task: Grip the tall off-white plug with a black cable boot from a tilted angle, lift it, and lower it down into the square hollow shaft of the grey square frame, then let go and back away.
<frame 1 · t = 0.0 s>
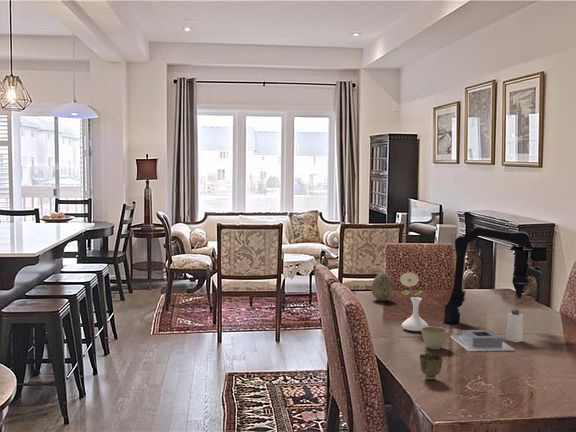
hand: (519, 296, 275), 15 cm above the table, tool pointing down, fingers open, 9 cm apart
flower pot: (433, 348, 246), on the table
cup 2: (430, 379, 209), on the table
plug: (514, 340, 259), on the table
flower in vase: (413, 330, 273), on the table
grey square frame: (481, 343, 253), on the table
decorative egg: (381, 301, 330), on the table
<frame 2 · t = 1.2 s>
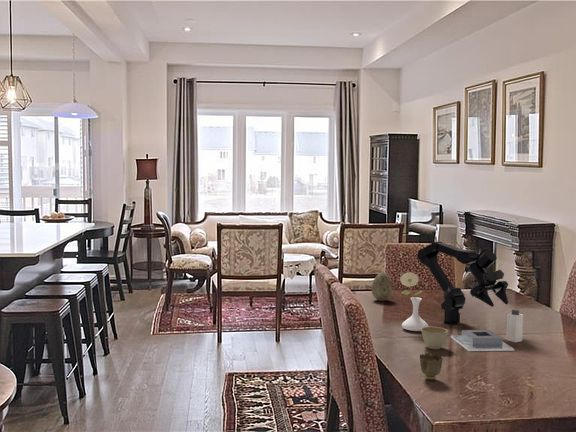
hand: (500, 305, 264), 13 cm above the table, tool tilted 45°, fingers open, 9 cm apart
nothing on the table moved.
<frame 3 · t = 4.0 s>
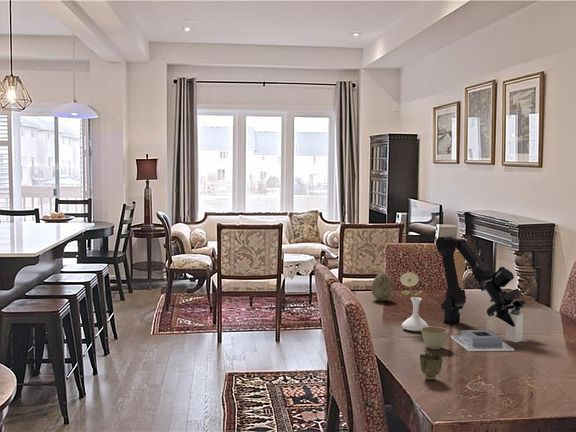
hand: (517, 325, 257), 7 cm above the table, tool tilted 45°, fingers closed on plug, 4 cm apart
plug: (514, 340, 259), on the table, touching gripper
everything else where it was.
when the fingers open (8 cm above the table, at t = 8.7 s): plug stays where it is, resting on grey square frame.
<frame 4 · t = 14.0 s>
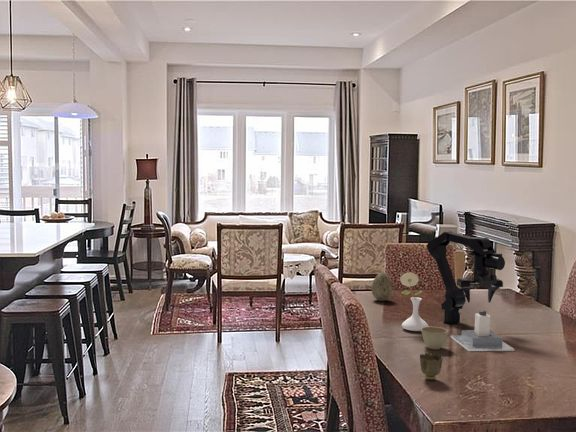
hand: (479, 302, 274), 12 cm above the table, tool pointing down, fingers open, 9 cm apart
plug: (481, 341, 253), point 1 cm above the table, touching grey square frame
everything else where it was.
at the end: plug 0.0 cm off-centre on the grey square frame, point 0.8 cm above the grey square frame's base; plug tilted 0°; the gripper is holding nothing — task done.
